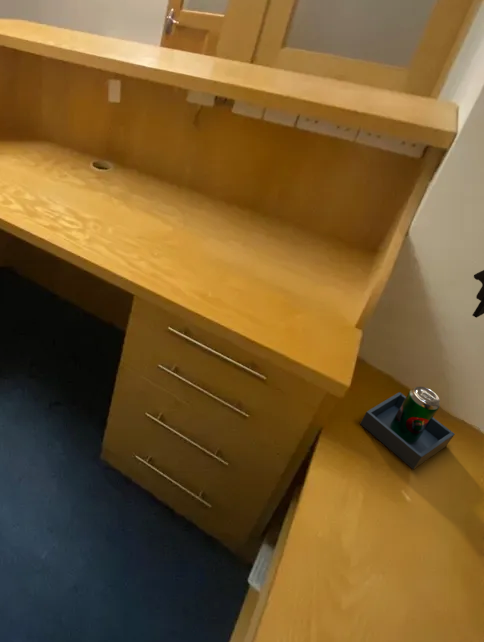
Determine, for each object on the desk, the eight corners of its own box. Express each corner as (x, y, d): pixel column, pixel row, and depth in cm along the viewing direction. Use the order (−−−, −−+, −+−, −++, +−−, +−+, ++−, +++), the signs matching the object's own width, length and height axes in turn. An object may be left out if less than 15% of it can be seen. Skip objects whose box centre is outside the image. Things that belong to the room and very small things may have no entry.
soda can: (395, 417, 109) (417, 380, 102) (421, 435, 105) (446, 397, 99) (384, 430, 106) (407, 393, 100) (411, 448, 103) (436, 411, 96)
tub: (446, 446, 104) (455, 433, 102) (413, 469, 99) (421, 457, 97) (392, 403, 112) (399, 391, 110) (359, 423, 108) (366, 411, 106)
